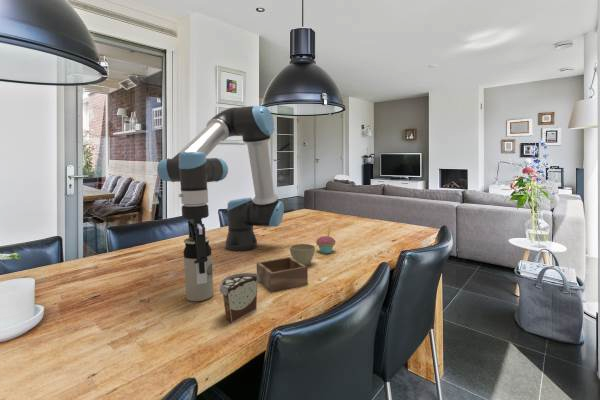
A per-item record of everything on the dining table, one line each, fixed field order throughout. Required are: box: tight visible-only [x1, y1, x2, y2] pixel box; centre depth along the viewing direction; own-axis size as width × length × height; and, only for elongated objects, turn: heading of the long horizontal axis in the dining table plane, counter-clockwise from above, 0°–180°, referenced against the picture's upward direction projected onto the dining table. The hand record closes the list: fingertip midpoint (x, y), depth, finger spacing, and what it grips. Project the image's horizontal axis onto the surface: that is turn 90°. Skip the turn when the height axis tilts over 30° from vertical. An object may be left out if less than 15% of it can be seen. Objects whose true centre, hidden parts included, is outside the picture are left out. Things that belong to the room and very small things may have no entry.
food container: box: [219, 272, 260, 324], centre depth 89 cm, size 12×6×10 cm, turn 145°
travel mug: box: [183, 236, 214, 302], centre depth 100 cm, size 8×8×18 cm
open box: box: [256, 256, 309, 293], centre depth 112 cm, size 13×13×6 cm
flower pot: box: [289, 243, 316, 267], centre depth 130 cm, size 10×10×7 cm
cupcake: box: [315, 226, 336, 254], centre depth 146 cm, size 9×8×12 cm
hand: (199, 278), depth 100 cm, fingers closed on travel mug, 8 cm apart
